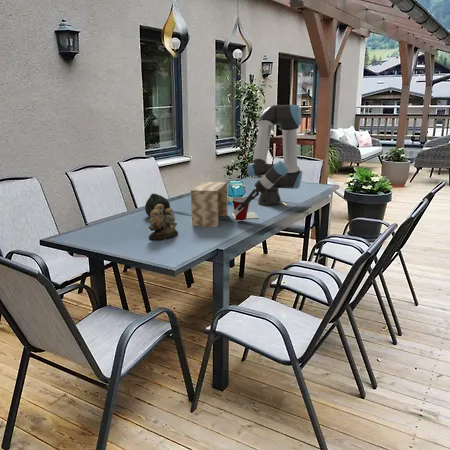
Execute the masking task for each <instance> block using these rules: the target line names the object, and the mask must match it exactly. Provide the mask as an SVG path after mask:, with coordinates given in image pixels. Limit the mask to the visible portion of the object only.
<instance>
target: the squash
mask: <svg viewBox="0 0 450 450" xmlns="http://www.w3.org/2000/svg"><path fill="white" fill-rule="evenodd" d="M157 204H162V205H163V206H164V209H163V212H164V210H165V209H167V208H171V205H170V202H169V200H168V199H167V198H166V197H164V196H162V195H161V194H157V193H151V194H150V195H149V198H148V199H147V200H146V202H145V206H144V207H145V208H144V209H145V213H146V215H147V216H148V217H149V218H151V216H150V213H151V211H153V210H154V208H155V206H156V205H157Z"/></svg>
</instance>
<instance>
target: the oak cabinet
mask: <svg viewBox="0 0 450 450" xmlns="http://www.w3.org/2000/svg"><path fill="white" fill-rule="evenodd" d="M190 201H191V224H192V225H191V226H192V227H209V228H210V227H213V228H218V227H219V216H224V217H225V216H226V217H227V216H229V213H228V212H229V211H228V210H229V208H228V207H229V204H228V201H229V200H228V182H226V181H225V182H224V181H202V182H200V184H198V185H197V186H195V187H194V188H192V189H191V190H190Z"/></svg>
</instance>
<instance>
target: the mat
mask: <svg viewBox="0 0 450 450" xmlns="http://www.w3.org/2000/svg"><path fill="white" fill-rule="evenodd" d="M231 215H232V217H233V219H234V221H235V220H236V217H235V214H234V213H233V212H231ZM257 218H258V219H259V217H258V215H257V214H256V213H255V212H254V211H248V212H247V217H246V220H255V219H256V220H257ZM236 221H237V220H236Z"/></svg>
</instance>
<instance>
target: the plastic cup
mask: <svg viewBox="0 0 450 450" xmlns="http://www.w3.org/2000/svg"><path fill="white" fill-rule="evenodd" d="M246 199H247V198H246V197H245V196H234V197H231V201H232V204H233V209H234V210H235V209H236V208H237V207H238V206H239V205H240V203H243V202H244V201H245V200H246ZM250 203H251V201H250V202H249V203H248V204H247V205H246V206H245V208H243V209H242V210H241V211H240V212H239V213H238V214H237V215H235V217H236V221H245V220H247V219H246V217H247V212H249V205H250ZM234 210H233V211H234Z"/></svg>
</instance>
